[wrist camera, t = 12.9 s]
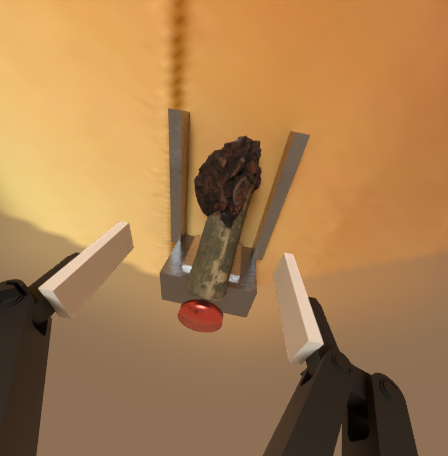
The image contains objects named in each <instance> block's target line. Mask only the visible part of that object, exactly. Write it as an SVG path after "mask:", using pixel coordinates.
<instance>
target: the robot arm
mask: <svg viewBox="0 0 448 456" xmlns="http://www.w3.org/2000/svg"><path fill="white" fill-rule="evenodd" d="M133 248H134V246H133V241H132V236H131V231H130V226H129V223H127V222H122V221H119V222H118V223H117V224H116V225H115V226H113V227H112V228H111V229H110V230H108V231H107V232H106V233H105V234H104V235H102V236H101V237H100V238H99V239H97V240H96V241H95V242H94V243H93V244H91V245H90V246H89V247H88V248H86V249H85V250H84V251H83V252H82V253H74V254H72V255H70V256H68V257H66V258H65V259H64V260H63V261H61V262H60V263H59V264H57V265H56V266H55V267H54V268H53V269H51V270H50V271H48V272H47V273H46V274H44V275H43V276H42V277H41V278H39V279H38V280H37V281H36V282H34V283H33V284H32V285H30V286H29V287H27V286H26V285H25V284H24V282H23V281H21V280H17V279H13V280H7V281H4V282H1V283H0V456H36V453H37V445H38V436H39V427H40V418H41V410H42V401H43V392H44V384H45V375H46V367H47V358H48V349H49V341H50V332H51V323H52V318H51V315H52V314H53V313H54V312H56V313H57V314H58V316H59V317H64V318H69V319H72V318H73V317H74V316H75V315H76V314H77V313H78V312H79V310H80V309H81V308H82V307H83V306H84V305H85V303H86V302H87V301H88V300H89V299H90V297H91V296H92V295H93V294H94V293H95V292H96V291H97V290H98V288H99V287H100V286H101V285H102V284H103V283H104V281H105V280H106V279H107V278H108V277H109V276H110V274H111V273H112V272H113V271H114V270H115V269H116V268H117V266H118V265H119V264H120V263H121V262H122V261H123V260H124V258H125V257H126V256H127V255H128V254H129V253H130V251H131V250H132V249H133ZM273 275H274V281H275V287H276V292H277V298H278V304H279V309H280V315H281V321H282V327H283V333H284V338H285V344H286V350H287V355H288V361H289V362H293V363H299V364H302V363H303V362H304V361H305V360H306V363H307V368H306V369H305V370H304V371H303V372H302V373H301V376H302V378H301V380H300V382H299V384H298V386H297V388H296V390H295V392H294V394H293V396H292V398H291V400H290V402H289V404H288V406H287V408H286V410H285V412H284V414H283V416H282V418H281V420H280V422H279V424H278V426H277V428H276V430H275V432H274V434H273V436H272V438H271V440H270V442H269V444H268V446H267V448H266V450H265V452H264V454H263V456H333V454H334V449H335V446H336V443H337V438H338V435H339V431H340V428H341V424H342V456H418V454H417V449H416V444H415V440H414V435H413V431H412V427H411V422H410V418H409V414H408V409H407V405H406V401H405V398H404V396H403V394H402V392H401V391H400V389H399V388H398V386H397V385H396V384H395V383H394V382H393V381H392V380H391V379H389V378H388V377H387V376H386V375H383V374H381V373H375V374H372V375H370V374H368V373H366V372H364V371H363V370H361V369H359V368H357V367H355V366H354V365H352V364H351V363H350V361H349V359H348V358H347V357H346V356H345V355H344V354H342V353H341V352H340V351H339V349H338V347H337V344H336V342H335V339H334V337H333V334H332V332H331V329H330V327H329V324H328V322H327V319H326V317H325V315H324V312H323V309H322V307H321V305H320V304H319V302H318V301H317V300H316V298H312V297H308V296H307V294H306V291H305V288H304V285H303V282H302V279H301V276H300V273H299V270H298V267H297V264H296V261H295V259H294V256H293V254H289V253H283V256H282V258H281V260H280V262H279V264H278V266H277V268H276V270H275V272H274V274H273Z"/></svg>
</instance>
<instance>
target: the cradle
mask: <svg viewBox="0 0 448 456" xmlns="http://www.w3.org/2000/svg"><path fill="white" fill-rule="evenodd" d="M168 114H169V156H170V198H171V239H172V242H177V244H176V246H175V248H174V249H173V251H172V253H171V254H170V256H169V258H168V259H167V261H166V263H165V265H164V266H163V268H162V270H161V271H160V282H161V294H162V299H163V300H168V301H172V302H177V303H181V304H182V305H181V307H180V310H179V313H178V319H179V321H180V322H181V323H182V324H183V325H184V326H186V327H187V328H190V329H192V330H195V331H198V332H214V331H217V330H219V329H220V328H221V326H222V320H223V313H228V314H232V315H237V316H242V317H247V314H248V312H249V310H250V308H251V305H252V303H253V301H254V299H255V296H256V294H257V287H256V260H255V259H259V260H262V258H263V255H264V252H265V250H266V247H267V245H268V242H269V239H270V237H271V234H272V232H273V229H274V227H275V224H276V221H277V219H278V216H279V214H280V211H281V209H282V206H283V203H284V201H285V198H286V196H287V193H288V191H289V188H290V185H291V183H292V180H293V178H294V175H295V173H296V170H297V167H298V165H299V162H300V160H301V157H302V154H303V152H304V149H305V147H306V144H307V142H308V139H309V136H310V135H307V134H303V133H298V132H293V131H291V132H290V135H289V138H288V141H287V144H286V147H285V150H284V153H283V156H282V159H281V162H280V165H279V168H278V171H277V174H276V177H275V180H274V184H273V187H272V190H271V193H270V196H269V199H268V202H267V205H266V208H265V211H264V214H263V217H262V220H261V223H260V226H259V229H258V232H257V235H256V238H255V241H254V245H253V248H248V247H243V246H242V244H238V246H237V251H236V255H235V259H234V262H233V266H232V271H231V275H230V278H229V283H228V287H227V292H226V296H224V298H223V299H221V300H217V301H213V300H206V299H202V298H197V297H194V296H192V295H191V294H190V293H189V292H188V291H187V289H186V283H187V280H188V277H189V274H190V271H191V268H192V265H193V262H194V259H195V256H196V253H197V250H198V246H199V243H200V240H201V237H202V236H199V235H196V236H190V235H185V230H186V200H187V170H188V141H189V112H187V111H181V110H176V109H168ZM222 312H223V313H222Z"/></svg>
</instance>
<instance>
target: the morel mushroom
mask: <svg viewBox="0 0 448 456" xmlns="http://www.w3.org/2000/svg"><path fill="white" fill-rule="evenodd" d="M260 156H261V149H260V141H252V139H251V140H250V138H247V136H243V137H238V139H237V140H236V141H234V142H230V143H225V144H224V147H223V148H222V149H221V150H215V151H214V152H213V153H212V154H211V155H210V156H208V159H207V160H206V162H205V163H204V164H203V165H202V166H201V167H200V169H199V174H198V175H197V176H196V178H195V180H194V181H195V182H194V184H195V192H196V197H197V201H198V204H199V205H200V208H201V210H202V212H203V213H204V214H205V215H207V216H208V218H207V221H206V223H205V227H204V230H203V233H202V237H201V240H200V243H199V246H198V250H197V253H196V256H195V259H194V262H193V265H192V268H191V271H190V274H189V277H188V280H187V283H186V289H187V291H188V292H189V293H190V294H191V295H192V296H194V297H197V298H202V299H206V300H213V301H217V300H221V299H223V298H224V296H226V292H227V287H228V283H229V278H230V275H231V271H232V266H233V262H234V259H235V255H236V251H237V246H238V242H239V239H240V235H241V231H242V227H243V223H244V219H245V216H246V213H247V209H248V205H249V202H250V199H251V196H252V194H253V192H254V190H257V189H258V188H259V186H260V183H261V177H260V175H261V168H260V167H259V166H258V164H259V158H260Z"/></svg>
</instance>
